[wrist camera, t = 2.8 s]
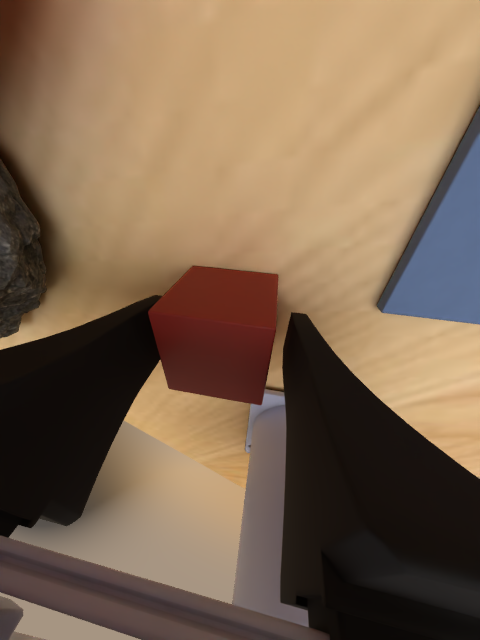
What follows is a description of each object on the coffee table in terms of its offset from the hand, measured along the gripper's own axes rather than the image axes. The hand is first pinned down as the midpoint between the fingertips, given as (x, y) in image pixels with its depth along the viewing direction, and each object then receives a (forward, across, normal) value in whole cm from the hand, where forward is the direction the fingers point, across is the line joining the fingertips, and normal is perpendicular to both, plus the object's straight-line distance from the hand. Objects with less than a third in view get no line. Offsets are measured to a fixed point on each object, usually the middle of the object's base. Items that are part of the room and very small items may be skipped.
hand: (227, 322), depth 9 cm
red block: (+1, 0, 0) cm, 1 cm away
